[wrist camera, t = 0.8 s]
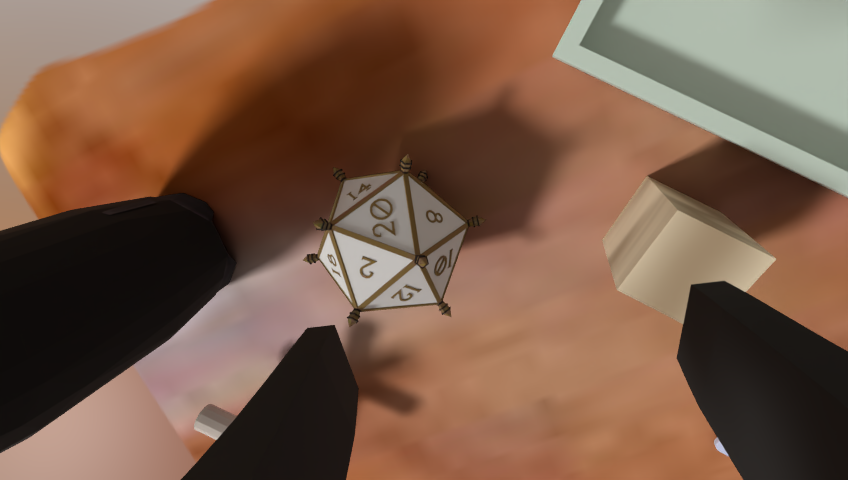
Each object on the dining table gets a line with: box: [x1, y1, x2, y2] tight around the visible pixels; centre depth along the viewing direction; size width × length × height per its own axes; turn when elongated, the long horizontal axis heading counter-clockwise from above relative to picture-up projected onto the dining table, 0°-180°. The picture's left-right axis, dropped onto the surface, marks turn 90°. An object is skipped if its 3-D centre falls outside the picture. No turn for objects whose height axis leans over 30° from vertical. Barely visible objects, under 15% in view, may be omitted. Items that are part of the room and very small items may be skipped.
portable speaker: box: [0, 193, 236, 453], centre depth 23 cm, size 9×9×20 cm
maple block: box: [602, 176, 776, 324], centre depth 20 cm, size 4×4×6 cm
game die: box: [303, 154, 485, 327], centre depth 23 cm, size 9×8×10 cm
